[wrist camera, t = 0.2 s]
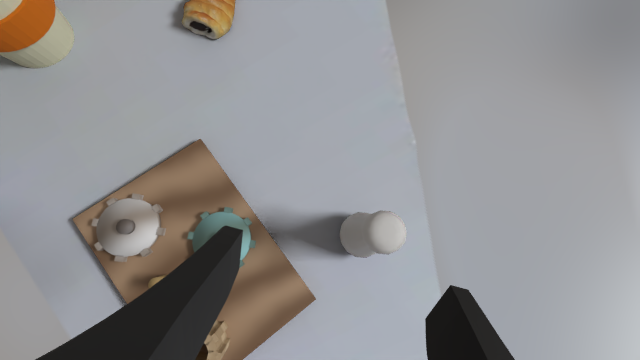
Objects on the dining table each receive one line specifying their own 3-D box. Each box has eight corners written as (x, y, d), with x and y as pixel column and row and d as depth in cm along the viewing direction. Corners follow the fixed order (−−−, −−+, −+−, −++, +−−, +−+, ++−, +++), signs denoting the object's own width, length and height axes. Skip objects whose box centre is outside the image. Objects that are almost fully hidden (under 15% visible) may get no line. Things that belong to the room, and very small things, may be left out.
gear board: (315, 297, 39) (318, 304, 35) (193, 396, 36) (180, 419, 31) (202, 141, 42) (192, 129, 37) (78, 219, 38) (50, 216, 34)
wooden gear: (225, 367, 36) (215, 386, 31) (177, 362, 35) (159, 381, 30) (234, 317, 37) (226, 329, 32) (188, 311, 36) (172, 322, 32)
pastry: (205, -18, 47) (198, -41, 44) (246, -4, 48) (243, -25, 44) (182, 31, 45) (172, 12, 41) (225, 46, 46) (220, 29, 42)
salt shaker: (386, 241, 42) (429, 240, 29) (352, 265, 41) (382, 276, 28) (362, 205, 43) (393, 190, 30) (328, 228, 41) (346, 223, 29)
